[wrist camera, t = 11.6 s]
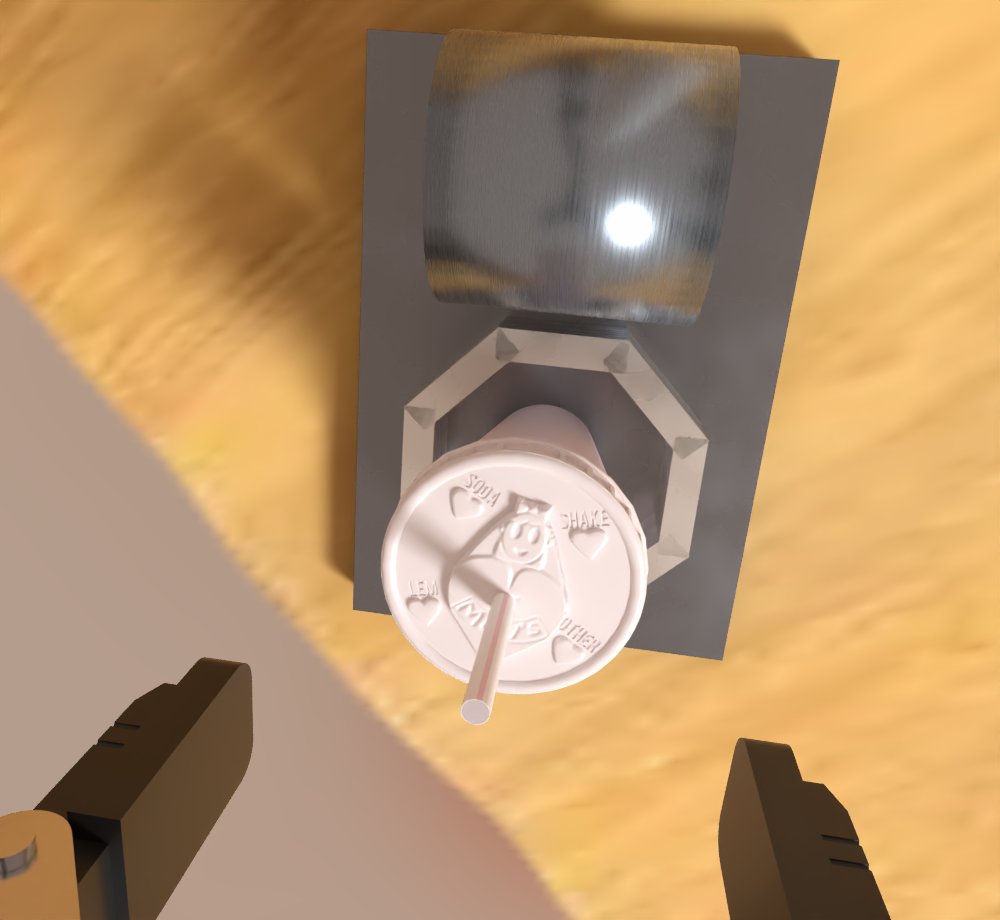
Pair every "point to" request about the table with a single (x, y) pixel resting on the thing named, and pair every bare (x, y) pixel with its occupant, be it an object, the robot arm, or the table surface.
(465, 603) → the smoothie
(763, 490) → the table surface
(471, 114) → the flat grey tray
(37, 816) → the robot arm
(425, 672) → the table surface
